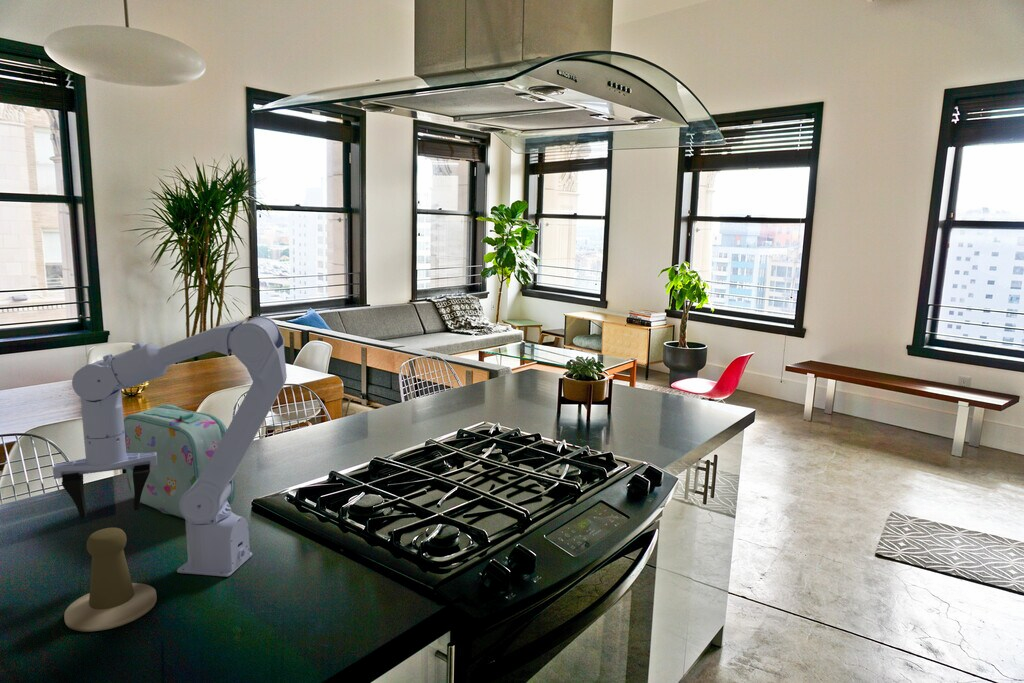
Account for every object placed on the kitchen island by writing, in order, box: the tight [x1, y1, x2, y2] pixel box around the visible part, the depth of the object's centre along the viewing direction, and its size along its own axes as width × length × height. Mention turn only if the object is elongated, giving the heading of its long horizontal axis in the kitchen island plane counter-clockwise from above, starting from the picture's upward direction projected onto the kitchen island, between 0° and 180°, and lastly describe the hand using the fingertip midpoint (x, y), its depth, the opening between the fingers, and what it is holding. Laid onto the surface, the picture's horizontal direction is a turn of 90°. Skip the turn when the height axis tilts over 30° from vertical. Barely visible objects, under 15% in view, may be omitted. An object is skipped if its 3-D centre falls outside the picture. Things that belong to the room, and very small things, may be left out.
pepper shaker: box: [86, 527, 134, 609], centre depth 101 cm, size 6×6×11 cm
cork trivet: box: [63, 582, 158, 632], centre depth 100 cm, size 12×12×1 cm
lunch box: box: [124, 404, 236, 520], centre depth 137 cm, size 27×10×21 cm, turn 61°
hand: (110, 512), depth 110 cm, fingers open, 7 cm apart
